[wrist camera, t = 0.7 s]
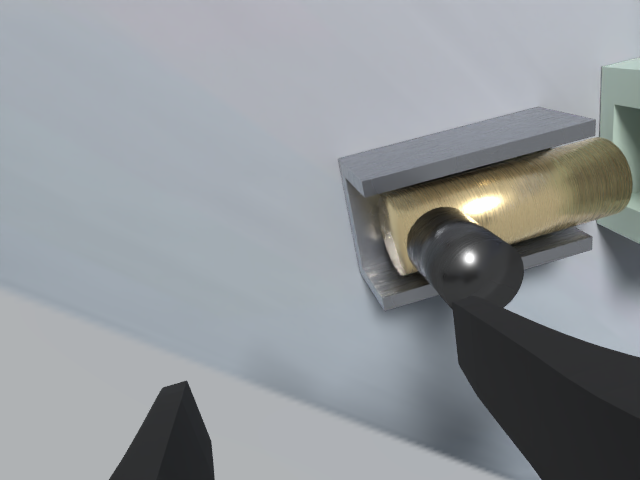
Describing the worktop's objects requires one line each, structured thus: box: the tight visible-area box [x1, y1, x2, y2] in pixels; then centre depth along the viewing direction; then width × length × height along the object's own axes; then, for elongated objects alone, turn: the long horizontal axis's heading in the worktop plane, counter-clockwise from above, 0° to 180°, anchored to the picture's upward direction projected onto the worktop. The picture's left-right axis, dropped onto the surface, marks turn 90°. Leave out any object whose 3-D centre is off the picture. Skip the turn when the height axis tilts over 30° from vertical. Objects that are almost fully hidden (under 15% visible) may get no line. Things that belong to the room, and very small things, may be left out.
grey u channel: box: [338, 107, 596, 311], centre depth 20 cm, size 9×5×4 cm, turn 102°
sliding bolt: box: [378, 137, 633, 309], centre depth 18 cm, size 9×3×6 cm, turn 102°
